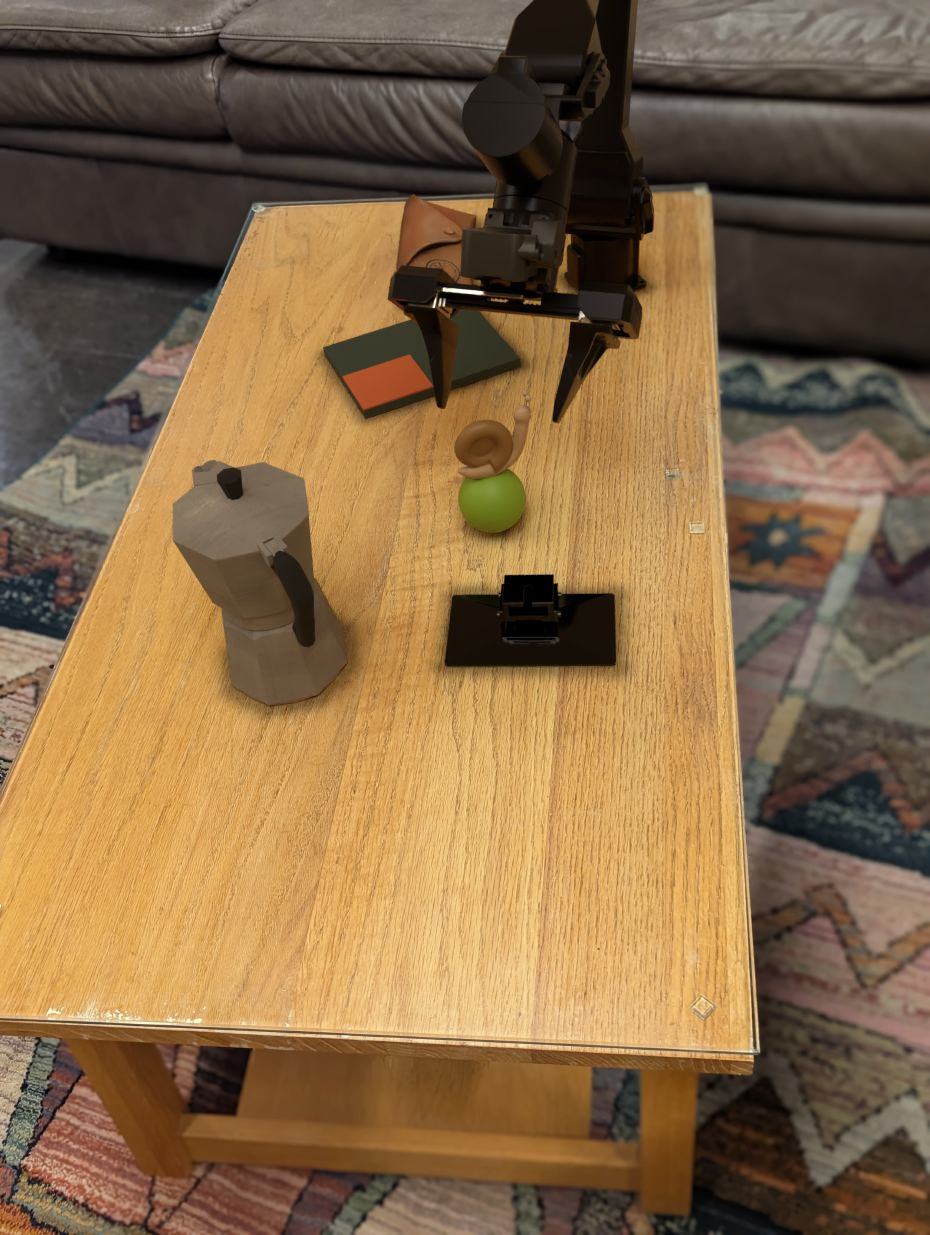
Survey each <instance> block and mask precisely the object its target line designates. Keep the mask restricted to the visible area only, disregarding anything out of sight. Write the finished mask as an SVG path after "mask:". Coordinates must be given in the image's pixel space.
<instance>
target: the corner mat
mask: <svg viewBox="0 0 930 1235" xmlns="http://www.w3.org/2000/svg"><path fill="white" fill-rule="evenodd" d="M450 320H451V321H453V322H454V323H455V324H456V325H458V326H459V333H458V340H457V347H456V354H455V361H454V368H453V375H452V382H451V389H450V391H452V390H456V389H459V388H462V387H465V386H467V385H472V384H473V383H478V382H479V381H482V380H486V379H488V378H492V377H494V376H495V377H496V376H498V375H500V374H503V373H506V372H509V371H513V370H515V369H518V368H519V369H520V368H521V367H522V364H521V357H520V356H519V355H518V354H517V353H516V352H515V350H514V349H513V348H512V347H511V346H510V345H509V344H508V343H507V341H506V340H505V339H504V338H503V337H502V336H501V335H500V333H499V332H498V331H497V330H496V329H495V328H494V327H493V325H492V324H491V323H490V322H489V321H488V320H487V318H486V317H485V316H484V315H483V314H482V312H481V311H475V310H464V309H459V312H458V313H457V314H456V315H454V316H453V317H452V318H451V319H450ZM322 348H323V354H324V358H326V360H327V361H328V363H329V365H330V366H331V368H332V369H333V370H334V372H335V374H336V375H337V377H338V379H339V380H340V382H341V383H342V385H343V387H344V388H345V389H346V391H347V393H348V395H349V396H350V397H351V399H352V400H353V402H354V403H355V404H356V407H357V409H358V410H359V412H360V413H361V415H362V416H363V418H364V419H365V420H367V419H369V418H370V419H371V418H372V417H375V416H378V415H381V414H384V413H386V412H387V413H388V412H391V411H394V410H396V409H400V408H401V407H405V406H408V405H410V404H414V403H417V402H420V401H423V400H426V399H429V398H432V397H435V393H434V387H433V381H432V375H431V369H430V363H429V358H428V353H427V349H426V345H425V342H424V338H423V335H422V332H421V330H420V328H419V326H418V324H417V323H415V322H414V321H413V320H411V319H410V318H409V319H408V320H407V319H406V320H404V321H401V322H398V323H395V324H392V325H389V326H386V327H383V328H379V329H376V330H373V331H370V332H366V333H363V334H360V335H357V336H354V337H350V338H348V339H345V340H341V341H338V342H335V343H332V344H329V345H326V346H323V347H322Z"/></svg>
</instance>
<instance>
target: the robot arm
mask: <svg viewBox="0 0 930 1235" xmlns="http://www.w3.org/2000/svg"><path fill="white" fill-rule="evenodd" d="M638 6H639V0H531V2H530V3H528V4H527V5H526V7H524V8H523V9H522V11H520V12H519V13H518V14H517V15H516V17H514V20H513V22H512V26H511V30H510V32H509V36H508V39H507V43H506V46H505V50H502V51H501V52H500V54H499V56H498V58H497V60H496V61H495V63H494V65H493V67H492V69H491V70H490V73H489V75H488V76H487V77H485V78H484V79H482V80H481V81H479V82H478V84H476V86H474V88H473V89H472V90H471V92H470V93H469V95H468V98H467V99H466V101H465V102H464V103H463V105H462V106H463V107H462V111H461V125H462V129H463V133H464V135H465V137H466V139H467V141H468V143H469V144H470V145H471V147H472V148H473V150H474V152H475V153H476V154H477V155H478V157H479V159H480V160H481V162H482V163H483V165H484V166H485V167H486V169H487V170H488V171H489V173H490V174H491V175H492V176H493V177H494V179H496V181H495V182H496V183H495V188H494V195H493V202H492V207H487V210H486V211H487V212H486V214H485V217H484V223H483V226H481V227H479V226H478V227H474V228H469V229H463V230H462V248H461V270H460V276H461V277H466V278H472V280H474V281H480V285H478V284H473V285H469V284H458V283H457V282H456V281H455V280H454V279H453V278H452V277H451V276H450V275H448V274H447V273H446V272H445V271H444V270H443V269H440V268H428V267H417V266H405V265H401V266H400V267H399V268H398V269H397V271H396V270H395V272H394V273H393V274H392V276H391V277H390V282H389V286H388V293H387V301H388V302H390V303H391V304H393V305H394V306H395V307H397V308H399V309H400V310H401V311H402V313H403V315H405V317H407V318H408V319H409V320H410V319H411V320H413V321H414V322H415V323H417V324H418V326H419V328H420V330H421V332H422V335H423V338H424V342H425V345H426V349H427V353H428V358H429V363H430V369H431V375H432V381H433V387H434V393H435V396H434V398H435V404H436V407H437V408H438V409H440V410H445V409H447V404H448V401H449V397H450V393H451V390H450V389H451V382H452V375H453V368H454V361H455V354H456V347H457V340H458V333H459V326H458V325H456V324H455V323H454V322H453V321H451V320H450V319H451V318H452V317H453V316H454V315H456V314H457V313H458V312H459V309H464V310H475V311H479V312H484V313H485V312H486V313H494V314H495V313H496V314H497V313H498V314H507V315H515V316H516V315H517V316H529V317H538V318H547V319H558V320H567V321H568V320H569V321H570V322H569V331H568V340H567V341H568V343H567V348H566V349H567V350H566V354H565V358H564V362H563V366H562V370H561V374H560V376H559V381H558V385H557V389H556V393H555V397H554V402H553V408H552V417H551V421H552V423H554V424H561V422H562V420H563V418H564V417H565V415H566V413H567V412H568V410H569V408H570V406H571V404H572V403H573V401H574V399H575V398H576V396H577V394H578V392H579V391H580V388H581V387H582V386H583V384H584V382H585V381H586V378H587V377H588V376H589V374H590V373H591V371H593V369H594V368H595V366H596V365H597V363H599V361H600V360H601V358H602V357H603V356H604V354H605V353H606V352H607V350H609V349H610V350H611V349H613V350H618V349H620V347H621V343H622V341H621V340H620V339H623V340H624V339H625V340H638V339H640V333H641V327H642V320H643V306H642V304H641V302H640V300H639V298H638V296H637V294H636V291H639V290H642V289H645V288H647V280H646V279H644V278H643V277H642V276H641V275H640V242H641V241H643V239H644V236H645V235H648V234H650V233H653V232H654V230H655V207H654V201H653V200H654V196H653V193H652V190H651V188H650V184H649V182H648V179H647V177H646V176H644V177H643V171H644V170H643V169H644V155H643V152H642V151H641V148H640V146H639V145H638V142H637V140H636V138H635V136H634V133H633V131H632V129H631V128H630V114H631V102H632V87H633V75H634V74H633V72H634V62H635V61H634V58H635V47H636V34H637V19H638ZM560 122H579V123H580V126H579V130H578V132H577V133H576V134H575V136H574V138H573V139H572V138H571V136H570V135H569V134H568V133H567V132H566V131H565V130H563V128H561V125H560ZM567 235H570V243H569V244H567V246H566V241H567ZM565 247H566V248H565ZM565 249H566V271H565V272H564V273H563V274H564V275H563V278H564V279H565V281H566V282H567V283H568V284H570V285H571V286H572V287H573V288H574V289H575V291H577V292H578V293H567V292H559V291H558V290H559V289H557V288H558V287H557V283H558V282H557V281H558V278H559V271H560V267H561V266H562V265H563V262H564V256H565ZM497 300H498V301H497ZM501 300H502V301H501ZM526 301H531V302H540V304H539V303H536V304H534V303H528V302H526Z"/></svg>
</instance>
